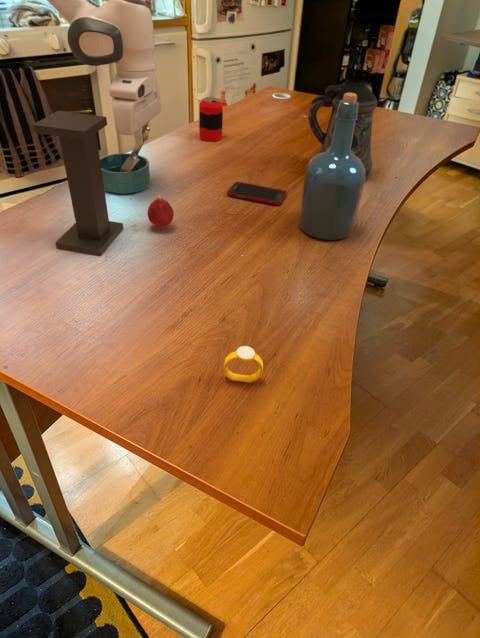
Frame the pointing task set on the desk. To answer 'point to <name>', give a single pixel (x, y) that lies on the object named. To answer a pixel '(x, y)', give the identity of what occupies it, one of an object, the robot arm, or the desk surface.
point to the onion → (160, 213)
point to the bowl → (124, 174)
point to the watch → (245, 356)
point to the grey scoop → (134, 155)
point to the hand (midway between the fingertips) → (142, 141)
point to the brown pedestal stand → (82, 181)
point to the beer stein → (362, 124)
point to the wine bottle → (334, 181)
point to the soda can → (210, 119)
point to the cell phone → (257, 193)
